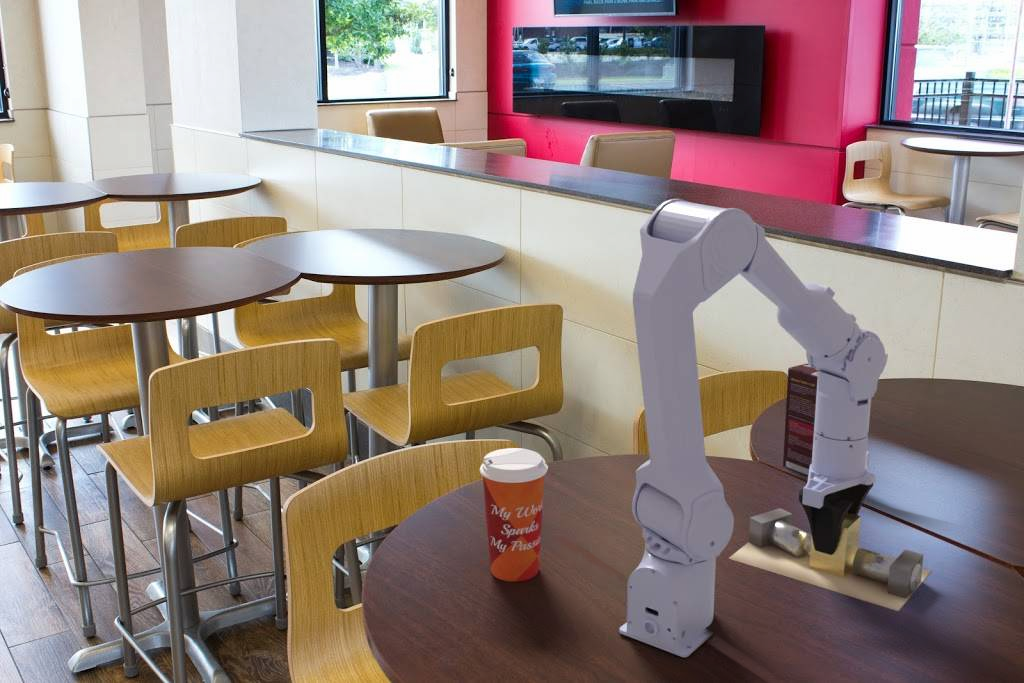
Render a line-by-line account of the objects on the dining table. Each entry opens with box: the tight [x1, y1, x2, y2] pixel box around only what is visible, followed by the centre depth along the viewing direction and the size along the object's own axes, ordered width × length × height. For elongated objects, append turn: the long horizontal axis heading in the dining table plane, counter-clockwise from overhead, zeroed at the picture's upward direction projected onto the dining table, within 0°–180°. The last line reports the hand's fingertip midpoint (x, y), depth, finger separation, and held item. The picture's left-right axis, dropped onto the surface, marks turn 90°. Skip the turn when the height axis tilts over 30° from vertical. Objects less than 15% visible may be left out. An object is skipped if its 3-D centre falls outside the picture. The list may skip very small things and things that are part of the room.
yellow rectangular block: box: [809, 513, 862, 578], centre depth 116 cm, size 4×4×6 cm
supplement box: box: [782, 362, 819, 477], centre depth 142 cm, size 9×5×16 cm, turn 34°
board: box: [727, 507, 932, 612], centre depth 117 cm, size 11×20×4 cm, turn 51°
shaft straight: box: [853, 547, 921, 592], centre depth 113 cm, size 6×3×3 cm, turn 51°
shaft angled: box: [768, 520, 812, 558], centre depth 121 cm, size 6×3×3 cm, turn 31°
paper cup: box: [479, 447, 549, 583], centre depth 117 cm, size 8×8×14 cm
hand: (832, 544), depth 116 cm, fingers closed on yellow rectangular block, 4 cm apart
